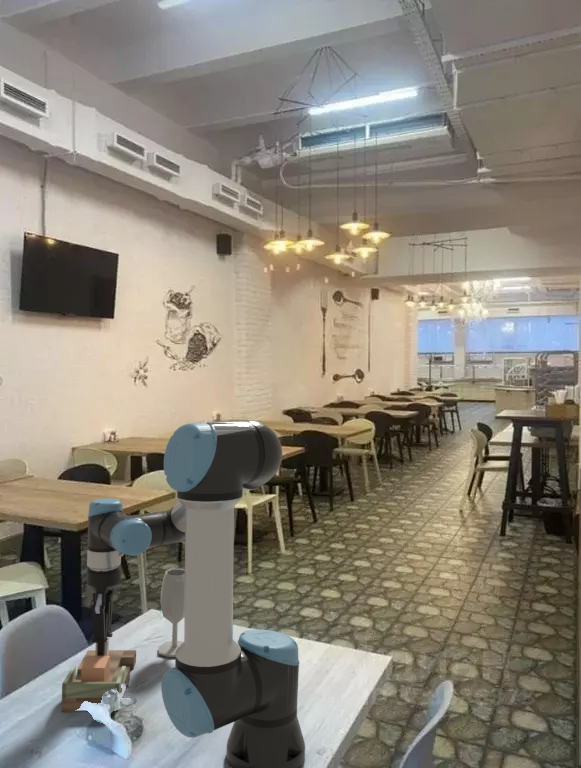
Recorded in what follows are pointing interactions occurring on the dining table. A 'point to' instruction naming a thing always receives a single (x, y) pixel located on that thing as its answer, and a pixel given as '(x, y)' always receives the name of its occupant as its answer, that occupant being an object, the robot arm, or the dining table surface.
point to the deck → (93, 691)
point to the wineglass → (172, 607)
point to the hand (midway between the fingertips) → (101, 667)
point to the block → (96, 669)
